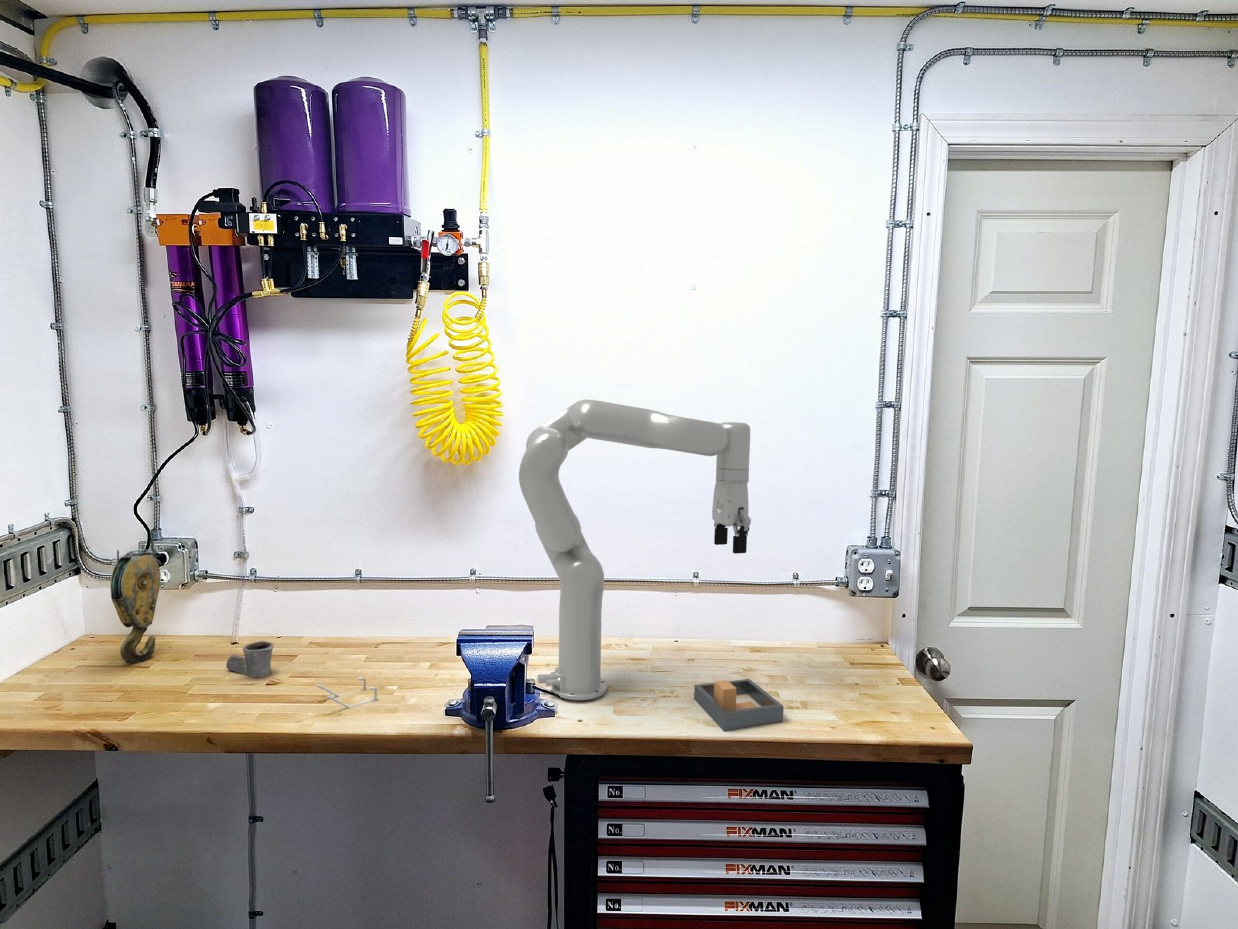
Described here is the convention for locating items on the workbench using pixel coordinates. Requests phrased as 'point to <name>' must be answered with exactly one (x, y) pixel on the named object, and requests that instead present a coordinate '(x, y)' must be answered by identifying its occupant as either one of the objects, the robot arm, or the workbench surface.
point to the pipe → (253, 660)
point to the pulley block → (136, 599)
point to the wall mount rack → (349, 693)
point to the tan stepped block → (728, 696)
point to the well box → (742, 717)
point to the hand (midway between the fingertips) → (729, 548)
